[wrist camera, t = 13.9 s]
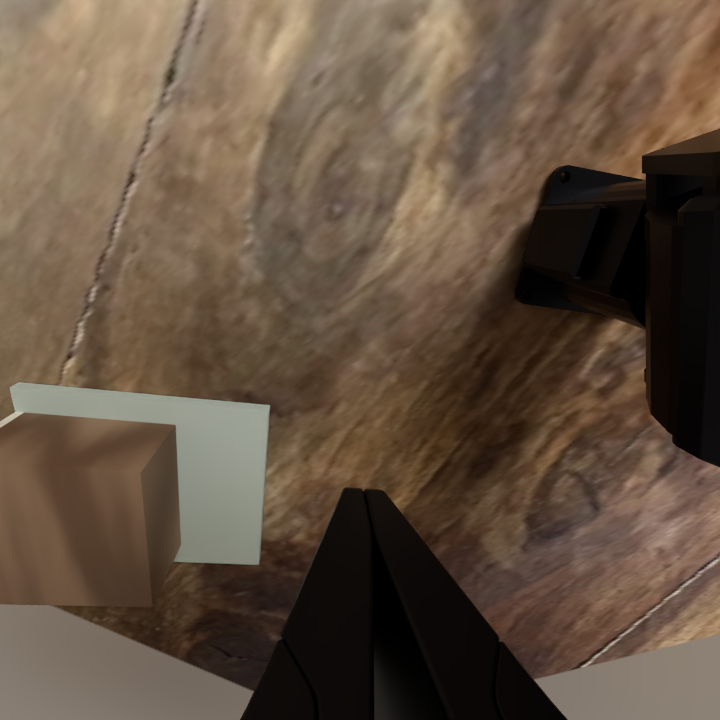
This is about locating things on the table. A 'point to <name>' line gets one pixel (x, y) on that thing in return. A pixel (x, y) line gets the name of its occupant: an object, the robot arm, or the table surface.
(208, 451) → the sage mat
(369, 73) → the table surface
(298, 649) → the robot arm
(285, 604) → the table surface
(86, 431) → the walnut slab
